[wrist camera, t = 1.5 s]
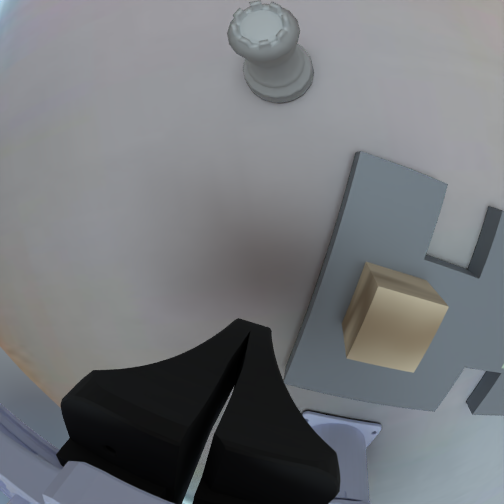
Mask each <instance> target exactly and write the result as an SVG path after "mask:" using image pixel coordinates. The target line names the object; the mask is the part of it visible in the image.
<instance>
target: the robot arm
mask: <svg viewBox="0 0 504 504" xmlns="http://www.w3.org/2000/svg"><path fill="white" fill-rule="evenodd" d="M271 332H272V331H271V329H270V328H269V327H265V326H262V325H259V324H255V323H252V322H249V321H245V320H242V319H239V318H238V319H236V320H234V321H233V322H232V323H231V324H230V325H229V326H227V327H226V328H225V329H223V330H222V331H221V332H219V333H218V334H216V335H215V336H213V337H212V338H210V339H209V340H207V341H206V342H204V343H202V344H200V345H198V346H197V347H195V348H193V349H191V350H189V351H187V352H185V353H182V354H180V355H178V356H175V357H173V358H170V359H167V360H163V361H160V362H157V363H153V364H149V365H144V366H139V367H133V368H126V369H114V370H93V371H92V372H91V373H89V374H88V375H87V376H85V377H84V378H83V379H82V380H81V381H80V382H79V383H78V384H77V385H76V386H75V387H74V388H73V389H72V390H71V391H70V392H69V393H68V394H67V395H66V396H65V397H64V398H63V399H62V402H61V410H62V415H63V419H64V422H65V425H66V428H67V431H68V434H69V437H70V438H69V440H68V441H67V442H66V443H65V444H64V445H63V447H62V448H61V449H60V450H59V449H58V448H56V447H55V446H53V445H52V444H51V443H49V442H48V441H46V440H45V439H44V438H42V437H41V436H40V435H38V434H37V433H36V432H34V431H33V430H32V429H31V428H29V427H28V426H27V425H26V424H24V423H23V422H22V421H21V420H19V419H18V418H17V417H16V416H15V415H13V414H12V413H11V412H10V411H9V410H8V409H7V408H5V406H3V405H2V404H1V403H0V490H1V491H2V492H3V493H4V494H5V495H6V496H7V497H8V498H9V499H10V501H9V502H8V503H7V504H182V502H183V499H184V497H185V494H186V492H187V489H188V487H189V484H190V482H191V479H192V477H193V474H194V472H195V469H196V467H197V464H198V462H199V459H200V457H201V454H202V452H203V449H204V447H205V444H206V442H207V439H208V437H209V434H210V432H211V430H212V428H213V426H214V424H215V422H216V420H217V418H218V416H219V414H220V412H221V410H222V408H223V406H224V405H225V403H226V401H227V399H228V397H229V395H230V393H231V391H232V389H233V387H234V390H233V393H232V396H231V398H230V400H229V403H228V405H227V407H226V410H225V412H224V414H223V416H222V418H221V420H220V423H219V425H218V427H217V429H216V431H215V433H214V436H213V440H212V444H211V447H210V451H209V454H208V458H207V461H206V465H205V468H204V472H203V475H202V478H201V481H200V483H199V486H198V488H197V490H196V493H195V496H194V501H193V504H370V501H369V484H368V469H367V456H366V448H367V447H368V446H369V444H370V443H371V442H372V441H373V440H374V438H375V437H376V436H377V434H378V433H379V432H380V431H381V429H382V427H381V425H380V424H376V423H369V422H363V421H357V420H351V419H345V418H340V417H335V416H330V415H325V414H320V413H315V412H311V411H305V412H304V413H303V414H301V413H300V411H299V410H298V408H297V407H296V405H295V403H294V402H293V400H292V398H291V396H290V394H289V392H288V390H287V388H286V386H285V384H284V381H283V379H282V376H281V374H280V371H279V368H278V365H277V361H276V358H275V354H274V350H273V344H272V336H271ZM234 385H235V386H234ZM305 419H307V420H305ZM373 431H374V432H373Z"/></svg>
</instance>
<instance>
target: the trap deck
mask: <svg viewBox="0 0 504 504" xmlns="http://www.w3.org/2000/svg"><path fill="white" fill-rule="evenodd" d="M447 185H448V184H446V183H444V182H441V181H439V180H437V179H434V178H432V177H430V176H427V175H425V174H422V173H420V172H417V171H415V170H412V169H409V168H407V167H404V166H402V165H399V164H396V163H393V162H391V161H388V160H385V159H382V158H379V157H376V156H373V155H371V154H368V153H364V152H361V151H360V152H356V153H355V157H354V161H353V165H352V169H351V173H350V176H349V180H348V184H347V187H346V191H345V194H344V198H343V202H342V205H341V208H340V212H339V215H338V219H337V222H336V225H335V229H334V232H333V235H332V238H331V242H330V245H329V248H328V251H327V254H326V257H325V260H324V264H323V267H322V270H321V273H320V276H319V279H318V282H317V284H316V287H315V290H314V293H313V296H312V299H311V302H310V305H309V307H308V310H307V313H306V316H305V319H304V321H303V324H302V327H301V329H300V332H299V335H298V338H297V340H296V343H295V345H294V348H293V351H292V353H291V356H290V358H289V361H288V363H287V366H286V369H285V375H284V384H288V385H292V386H295V387H299V388H303V389H308V390H312V391H316V392H320V393H325V394H329V395H334V396H339V397H343V398H348V399H353V400H359V401H364V402H370V403H375V404H381V405H388V406H394V407H401V408H408V409H416V410H425V411H434V412H435V410H436V409H437V408H438V406H439V405H440V403H441V402H442V401H443V399H444V398H445V397H446V395H447V394H448V392H449V391H450V389H451V388H452V386H453V385H454V383H455V382H456V380H457V379H458V377H459V376H460V374H461V373H462V371H463V369H464V368H465V367H466V368H472V369H478V370H484V371H486V373H485V375H484V376H483V378H482V379H481V381H480V382H479V384H478V385H477V387H476V388H475V390H474V391H473V392H472V394H471V395H470V397H469V398H468V400H467V401H466V402H467V404H468V407H469V409H470V411H471V413H472V415H503V416H504V211H502V210H499V209H496V208H493V207H488V210H487V214H486V217H485V221H484V224H483V227H482V230H481V233H480V237H479V240H478V243H477V245H476V248H475V251H474V254H473V257H472V259H471V262H470V265H469V267H468V270H467V269H465V268H462V267H459V266H457V265H454V264H451V263H448V262H445V261H443V260H440V259H437V258H434V257H431V256H428V255H426V253H427V250H428V247H429V244H430V241H431V238H432V235H433V232H434V229H435V226H436V223H437V220H438V217H439V214H440V210H441V207H442V204H443V200H444V197H445V193H446V189H447ZM365 262H369V263H372V264H375V265H379V266H382V267H385V268H389V269H392V270H395V271H398V272H402V273H405V274H408V275H411V276H414V277H418V278H421V279H424V280H427V282H428V283H429V284H430V285H431V286H432V287H433V288H434V290H435V291H436V292H437V293H438V294H439V295H440V297H441V298H442V299H443V300H444V301H445V303H446V304H447V305H448V306H449V308H448V310H447V312H446V314H445V316H444V318H443V320H442V322H441V324H440V326H439V328H438V330H437V332H436V334H435V336H434V338H433V340H432V342H431V343H430V345H429V347H428V349H427V351H426V353H425V354H424V356H423V358H422V360H421V361H420V363H419V365H418V366H417V368H416V370H415V371H414V373H412V372H407V371H402V370H397V369H392V368H387V367H382V366H378V365H373V364H369V363H364V362H360V361H355V360H351V359H347V358H346V351H345V344H344V336H343V329H342V322H343V319H344V317H345V315H346V312H347V310H348V307H349V305H350V302H351V300H352V297H353V295H354V292H355V289H356V287H357V284H358V282H359V279H360V276H361V273H362V271H363V268H364V265H365Z"/></svg>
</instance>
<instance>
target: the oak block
mask: <svg viewBox="0 0 504 504" xmlns="http://www.w3.org/2000/svg"><path fill="white" fill-rule="evenodd" d="M448 308H449V306H448V305H447V304H446V303H445V301H444V300H443V299H442V298H441V297H440V295H439V294H438V293H437V292H436V291H435V290H434V288H433V287H432V286H431V285H430V284H429V283H428V282H427V280H424V279H421V278H418V277H414V276H411V275H408V274H405V273H402V272H398V271H395V270H392V269H389V268H385V267H382V266H379V265H375V264H372V263H369V262H365V265H364V268H363V271H362V273H361V276H360V279H359V282H358V284H357V287H356V289H355V292H354V295H353V297H352V300H351V302H350V305H349V307H348V310H347V312H346V315H345V317H344V319H343V322H342V329H343V336H344V344H345V351H346V358H347V359H351V360H355V361H360V362H364V363H369V364H373V365H378V366H382V367H387V368H392V369H397V370H402V371H407V372H412V373H414V371H415V370H416V368H417V366H418V365H419V363H420V361H421V360H422V358H423V356H424V354H425V353H426V351H427V349H428V347H429V345H430V343H431V342H432V340H433V338H434V336H435V334H436V332H437V330H438V328H439V326H440V324H441V322H442V320H443V318H444V316H445V314H446V312H447V310H448Z"/></svg>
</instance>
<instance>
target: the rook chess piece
mask: <svg viewBox="0 0 504 504" xmlns="http://www.w3.org/2000/svg"><path fill="white" fill-rule="evenodd" d="M249 3H250V7H248V8H246V9H245V10H242V9H241V8H239V9H238V10H237V11H236V12H235V13H234V14H233V17H234V19H233V20H232V21H231V23H230V26H229V29H228V32H227V34H228V40H229V44H230V46H231V47H232V48H233V50H234V51H235V52H236V54H238V55H240V56H242V57H244V58H245V62H244V65H243V71H244V76H245V80H246V81H247V84H248V86H249V87H250V88H251V90H252V91H253V93H254V94H256V95H257V96H259V97H261V98H262V99H264V100H266V101H271V102H276V103H281V102H287V101H292V100H294V99H296V98H298V97H299V96H301V95H303V94H304V93H305V92H306V90H307V89H308V88H309V86H310V85H311V83H312V78H313V74H314V71H313V67H312V62H311V59H310V56H309V55H308V54H307V52H306V51H305V50H304V48H303V47H302V46H300V45H299V44H297V42H298V38H299V34H300V28H299V25H298V21H297V19H296V18H295V17H294V16H293V15H292V13H291V12H290V11H288V10H286V9H284V8H282V7H281V6H280V5H278V4H276V3H274V2H272V1H271V3H270V4H262V3H261V1H260V0H259V1H254V2H249Z"/></svg>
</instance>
